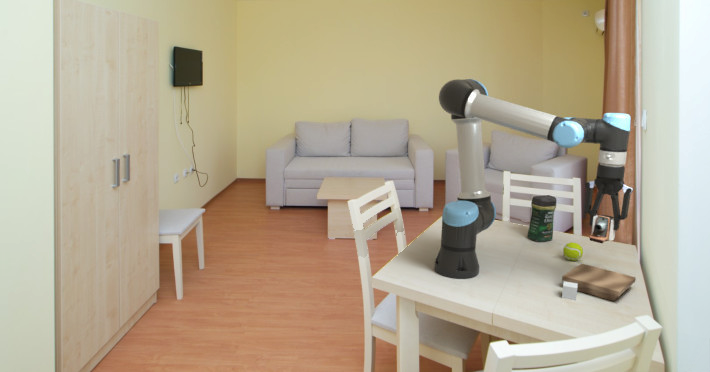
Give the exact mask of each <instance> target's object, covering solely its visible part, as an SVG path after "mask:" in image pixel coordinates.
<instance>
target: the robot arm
mask: <svg viewBox="0 0 710 372" xmlns="http://www.w3.org/2000/svg"><path fill="white" fill-rule="evenodd" d="M438 102H439V105H440V107H441V109H443V111H445V112H446V113H448V114H449V115H450V119H451V121H452V122H453V123H454V124H455V125H456V140H457V151H458V152H457V155H458V165H459V179H460V192H459V193H458V194H457V196H456V197H457V198H456V201H449V202H448V203H446V204H445V205H444V206H443V209H442V215H441V237H440V238H441V239H440V249H439V250H438V253H437V256H436V258H435V261H434V271H435V272H436V273H437V274H439V275H441V276H445V277H448V278H452V279H471V278H475V277H477V276H478V275H479V274H480V264H479V263H480V262H479V260H478V256H477V252H476V247H477V246H476V245H477V243H476V242H477V235H478V234H481V232H484V231H485V230H487V229H489V227H491V225H493V223H494V222H495V220H496V217H497V210H496V206H495V203H493V202H492V197H491V193H490V192H489V191H487V188H486V175H485V174H486V173H485V161H484V158H485V157H484V145H483V144H484V143H483V134H482V133H483V132H482V122H483V121H484V122H485V121H486V122H488V123H491V124H495V125H499V126H500V127H504V128H508V129H511V130H513V131H514V130H515V131H517V132H521V133H523V134H527V135H531V136H533V137H537V138H540V139H543V140H546V141H549V142H551V143H554V144H556V145H557V146H558V147H559V148H565V149H571V148H574V147H577V146H578V145H580V144H583V143H584V144H596V145H598V144H599V152H598V161H597V162H598V164H597V169H596V177H595V179H594V180H591V181H590V180H589V181H586V182H585V183H584V184H585V188H586V189H585V190H586V193H585V202H584V213H585V214H588V215H589V216H590V218H589V226H590V227H591V234H590V236H591V235H592V233H593V231H594V226H595V223H596V220H597V217H598V216H599V215H597V214H598V211H599V208H600V206H601V203H602V201H603V198H604V196H605V195H608V196H610V199H611V205H612V206H611V207H612V214H613V217H614V219H612V220H611V226H610V234H609V241H610V242H612V241H614V240H615V236H616V232H617V231H618V230H619V228H620V223H621V221H623V220H626V219H627V218H628V214H629V210H630V209H629V208H630V200H631V195H632V193H633V192H634V187H632V186H631V187H630V186H628V185H626V184H625V181H624V178H625V171H626V167H625V165H626V163H627V156H628V154H627V153H628V146H629V139H630V134H631V133H630V132H631V116H630V114H628V113H623V112H621V113H620V112H606V113H603V115H602V116H603V117H602V118H587V117H585V118H584V117H575V116H573V117H572V116H571V117H570V116H569V117H567V116H566V117H561V116H558V115H555V114H551V113H548V112H544V111H540V110H536V109H534V108H530V107H527V106H525V105H524V106H523V105H520V104H516V103H513V102H509V101H506V100H502V99H499V98H496V97H493V96H489V92H488V89H487V87H486V86H485V85H484V84H483V83H482V82H481V81H478V80H476V79H472V78H468V79H467V78H466V79H451V80H449V81H447V82H446V83H444V85H443V86H442V87H440V90H439V94H438ZM595 187H596V188H597V191H598V192H597V193H596V198H595V200H594V202H593V194H594V189H595ZM622 189H623V190H622ZM621 190H622V192H623V198H622V205H621V209H620V201H619V199H620V198H619V197H620V196H619V193H620V192H621ZM592 205H593V206H592ZM609 241H608V242H609Z"/></svg>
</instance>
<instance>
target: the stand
mask: <svg viewBox="0 0 710 372" xmlns="http://www.w3.org/2000/svg"><path fill="white" fill-rule="evenodd" d="M561 278H562V279H561V281H563V282H564V281H565V282H572V283H578V285H577V292H581V293H584V294H588V295H591V296H594V297H598V298H602V299H606V300H609V301H612V302H615V301H616V300H617V299H618V298H619V297H621V296H622V294H623V293H625V292H626V291H627V290H628V289H629V288H630V287H631V286H632V285H634V284H635V282H636V279H637V278H636V276H632V275H628V274H624V273H621V272H616V271H612V270H609V269H605V268H600V267H599V266H598V267H597V266H594V265H589V264H586V263H580V264H579V265H577V266H575V267H574V268H572V269H571V270H569V271H568V272H566V273H565V274H563V275H562V277H561Z"/></svg>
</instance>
